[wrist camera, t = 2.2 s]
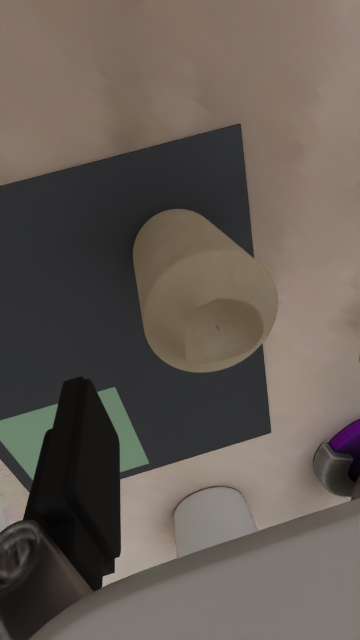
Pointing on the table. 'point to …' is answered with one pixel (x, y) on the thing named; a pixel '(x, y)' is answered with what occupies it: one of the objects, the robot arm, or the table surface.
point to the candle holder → (211, 519)
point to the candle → (200, 293)
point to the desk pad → (116, 305)
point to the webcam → (341, 463)
